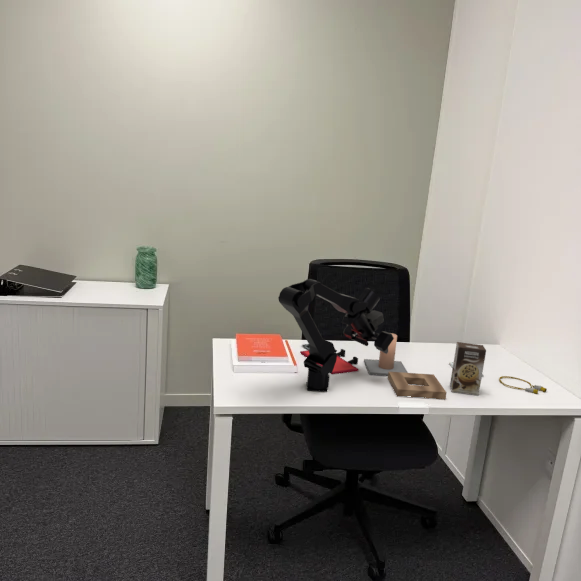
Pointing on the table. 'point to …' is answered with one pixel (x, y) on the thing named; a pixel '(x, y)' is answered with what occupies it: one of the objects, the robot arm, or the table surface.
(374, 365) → the mat
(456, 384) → the coffee box
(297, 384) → the table surface
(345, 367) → the red board with handle
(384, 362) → the plug
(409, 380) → the pocket board
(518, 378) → the extension cord
